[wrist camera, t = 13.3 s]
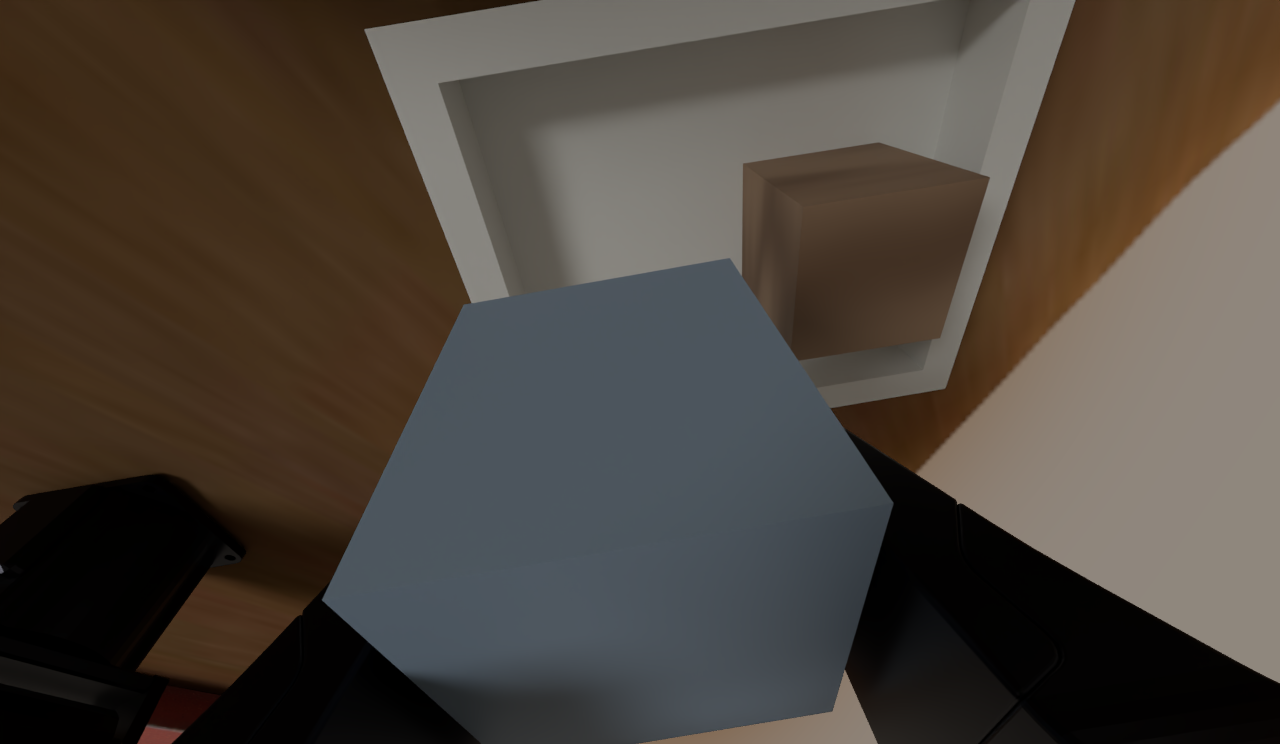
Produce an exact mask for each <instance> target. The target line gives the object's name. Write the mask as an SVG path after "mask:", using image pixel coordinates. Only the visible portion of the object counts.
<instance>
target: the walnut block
mask: <svg viewBox="0 0 1280 744" xmlns="http://www.w3.org/2000/svg"><path fill="white" fill-rule="evenodd" d="M989 180H990V177H988V176H984V175H981V174H978V173H975V172H972V171H969V170H965V169H962V168H959V167H956V166H953V165H949V164H946V163H943V162H940V161H937V160H934V159H930V158H927V157H924V156H921V155H918V154H914V153H911V152H908V151H905V150H902V149H899V148H895V147H892V146H889V145H886V144H883V143H879V142H878V143H871V144H865V145H858V146H852V147H846V148H839V149H833V150H827V151H820V152H814V153H807V154H801V155H795V156H788V157H782V158H775V159H769V160H763V161H756V162H750V163H743V209H742V277H743V279H744V280H745V282H746V283H747V285H748V286H749V288H750V289H751V291H752V292H753V294H754V295H755V296H756V298H757V299H758V301H759V302H760V304H761V305H762V307H763V308H764V310H765V311H766V313H767V314H768V316H769V317H770V319H771V320H772V322H773V323H774V325H775V326H776V328H777V329H778V331H779V332H780V334H781V335H782V337H783V338H784V340H785V341H786V343H787V344H788V346H789V347H790V349H791V350H792V352H793V353H794V355H795V356H796V358H797V359H798V361H801V360H807V359H813V358H819V357H826V356H832V355H838V354H844V353H850V352H857V351H863V350H869V349H875V348H882V347H888V346H894V345H900V344H906V343H913V342H919V341H925V340H931V339H937V338H940V337H941V334H942V330H943V327H944V324H945V321H946V318H947V314H948V311H949V308H950V305H951V302H952V298H953V295H954V292H955V289H956V286H957V282H958V279H959V276H960V273H961V270H962V266H963V263H964V260H965V257H966V254H967V250H968V247H969V244H970V241H971V237H972V234H973V231H974V228H975V225H976V221H977V218H978V215H979V212H980V209H981V205H982V202H983V199H984V196H985V193H986V189H987V186H988V183H989Z"/></svg>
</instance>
